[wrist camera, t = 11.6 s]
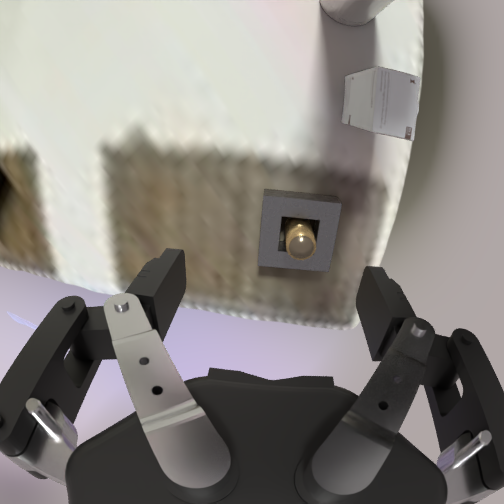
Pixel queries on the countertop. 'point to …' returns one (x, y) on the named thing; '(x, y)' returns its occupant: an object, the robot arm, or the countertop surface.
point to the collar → (298, 207)
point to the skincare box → (382, 102)
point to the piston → (299, 238)
